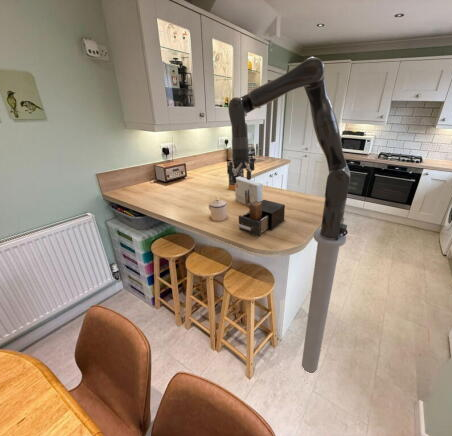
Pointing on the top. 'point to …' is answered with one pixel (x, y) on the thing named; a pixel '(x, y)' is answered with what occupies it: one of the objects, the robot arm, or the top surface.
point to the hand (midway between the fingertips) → (241, 181)
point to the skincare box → (248, 191)
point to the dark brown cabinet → (273, 212)
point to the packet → (256, 210)
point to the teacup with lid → (218, 210)
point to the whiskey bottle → (239, 173)
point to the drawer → (254, 224)
